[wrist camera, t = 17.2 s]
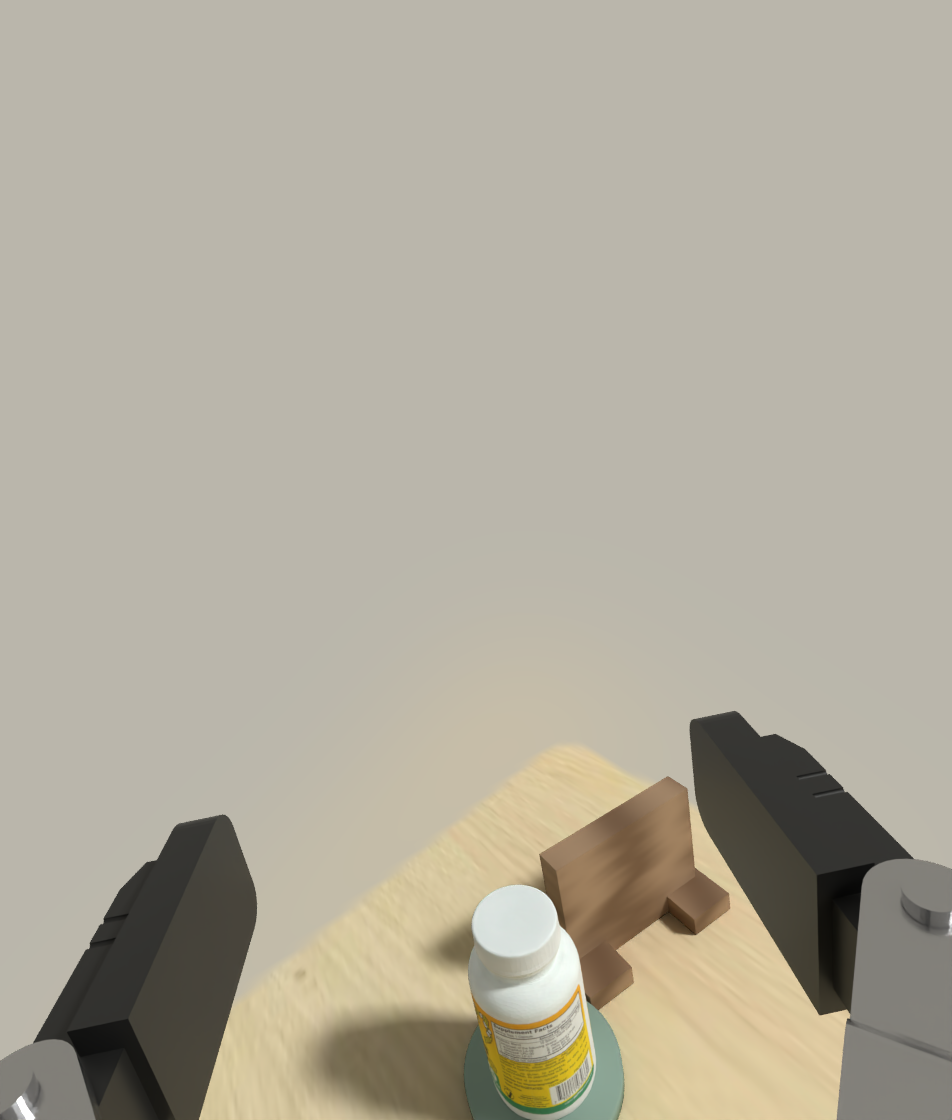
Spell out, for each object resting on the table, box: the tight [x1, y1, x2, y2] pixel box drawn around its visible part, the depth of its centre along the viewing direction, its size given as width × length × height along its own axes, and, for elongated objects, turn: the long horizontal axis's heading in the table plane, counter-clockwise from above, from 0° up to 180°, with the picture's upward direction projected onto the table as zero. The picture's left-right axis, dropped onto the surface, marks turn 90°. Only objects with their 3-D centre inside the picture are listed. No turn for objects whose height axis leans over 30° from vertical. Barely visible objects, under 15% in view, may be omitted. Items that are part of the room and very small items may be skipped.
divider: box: [539, 777, 730, 1010], centre depth 39 cm, size 11×6×8 cm, turn 120°
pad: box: [464, 1001, 624, 1120], centre depth 33 cm, size 8×8×1 cm
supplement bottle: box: [468, 885, 596, 1120], centre depth 31 cm, size 5×5×10 cm
